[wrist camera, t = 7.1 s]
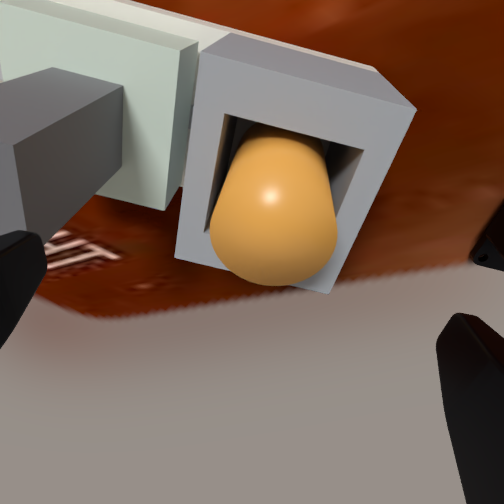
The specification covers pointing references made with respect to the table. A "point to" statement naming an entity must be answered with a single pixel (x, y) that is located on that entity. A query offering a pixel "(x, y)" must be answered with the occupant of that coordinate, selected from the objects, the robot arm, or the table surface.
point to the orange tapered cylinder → (275, 208)
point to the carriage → (87, 113)
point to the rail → (274, 121)
